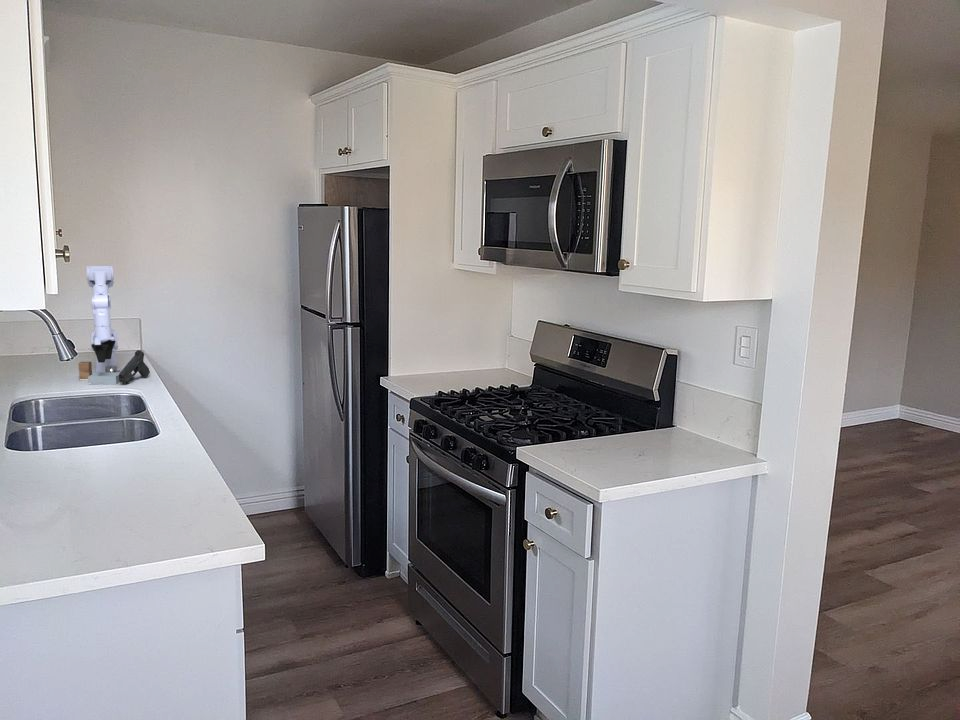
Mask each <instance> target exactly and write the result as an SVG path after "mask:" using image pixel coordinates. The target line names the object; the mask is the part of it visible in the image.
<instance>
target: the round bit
mask: <svg viewBox="0 0 960 720" xmlns="http://www.w3.org/2000/svg"><path fill="white" fill-rule="evenodd" d="M117 367H118V365H117V366H115V365H111V366H105V372H119V371H118V370H117Z"/></svg>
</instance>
